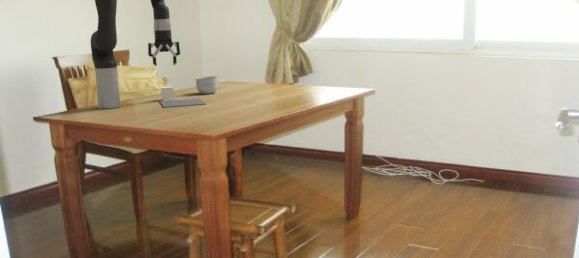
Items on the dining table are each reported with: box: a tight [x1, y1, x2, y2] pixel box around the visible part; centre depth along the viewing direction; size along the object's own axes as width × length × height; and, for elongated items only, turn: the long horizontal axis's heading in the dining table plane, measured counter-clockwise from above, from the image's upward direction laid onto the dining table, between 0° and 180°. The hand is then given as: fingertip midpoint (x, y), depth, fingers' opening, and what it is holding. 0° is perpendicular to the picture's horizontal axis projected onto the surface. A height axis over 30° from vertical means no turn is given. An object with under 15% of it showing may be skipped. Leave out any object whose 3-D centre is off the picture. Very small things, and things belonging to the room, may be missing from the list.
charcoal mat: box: [159, 97, 206, 108], centre depth 267 cm, size 18×18×1 cm
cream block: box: [160, 85, 175, 101], centre depth 278 cm, size 5×5×6 cm
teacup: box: [194, 75, 219, 95], centre depth 297 cm, size 14×11×8 cm
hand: (165, 65), depth 276 cm, fingers open, 8 cm apart
